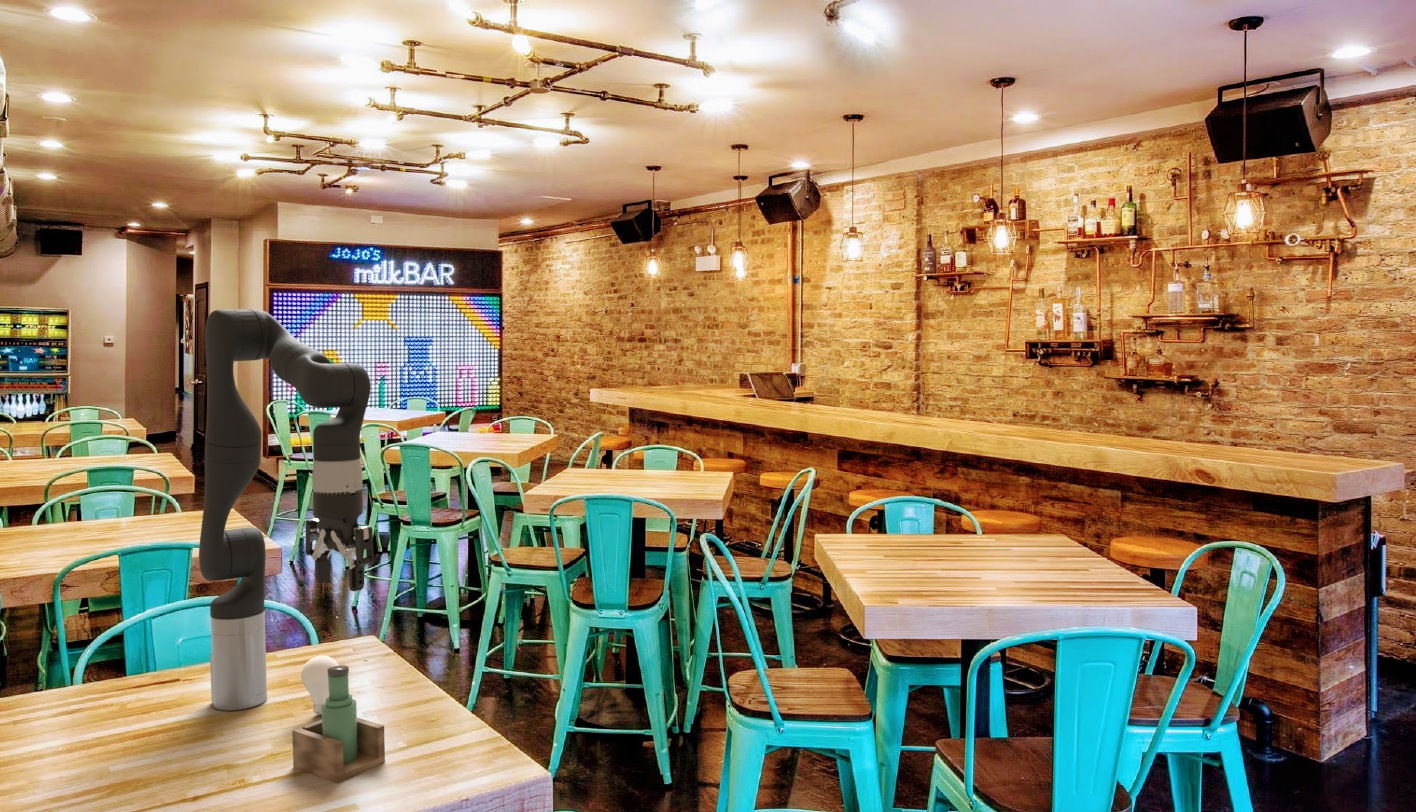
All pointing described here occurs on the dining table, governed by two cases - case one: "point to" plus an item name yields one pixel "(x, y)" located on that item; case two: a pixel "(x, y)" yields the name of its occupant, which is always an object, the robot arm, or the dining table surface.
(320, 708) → the light bulb
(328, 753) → the brown open-sided frame
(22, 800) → the dining table surface
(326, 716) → the bottle
